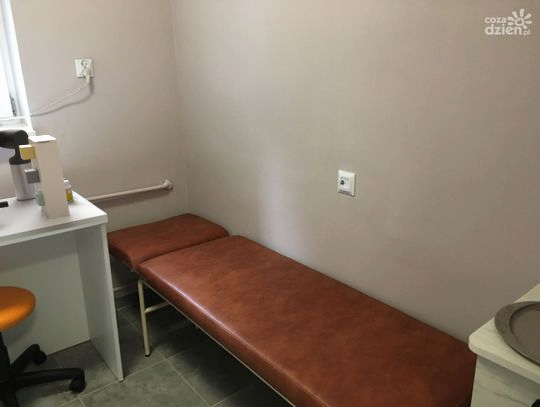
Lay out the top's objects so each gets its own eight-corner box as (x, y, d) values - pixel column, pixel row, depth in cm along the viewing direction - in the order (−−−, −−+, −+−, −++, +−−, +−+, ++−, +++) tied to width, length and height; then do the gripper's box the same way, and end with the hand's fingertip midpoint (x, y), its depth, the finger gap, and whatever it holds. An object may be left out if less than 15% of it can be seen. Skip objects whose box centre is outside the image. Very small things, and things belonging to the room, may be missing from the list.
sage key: (36, 203, 187) (34, 192, 186) (53, 200, 191) (51, 189, 189) (39, 206, 182) (36, 194, 181) (56, 203, 186) (53, 191, 185)
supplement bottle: (58, 202, 204) (54, 182, 201) (67, 199, 209) (64, 179, 206) (67, 203, 202) (63, 182, 199) (76, 200, 207) (72, 180, 204)
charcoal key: (25, 181, 183) (23, 169, 181) (42, 178, 186) (40, 167, 185) (28, 184, 178) (25, 172, 177) (45, 181, 182) (43, 169, 180)
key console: (41, 209, 194) (27, 137, 185) (60, 205, 199) (48, 135, 189) (49, 218, 180) (34, 141, 171) (69, 214, 185) (56, 139, 175)
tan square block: (21, 157, 180) (18, 145, 179) (38, 155, 184) (36, 143, 182) (23, 159, 175) (20, 147, 174) (41, 157, 179) (38, 145, 177)
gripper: (-46, 206, 162) (8, 198, 172) (-46, 199, 173) (4, 191, 182) (-41, 225, 164) (12, 216, 174) (-42, 217, 175) (8, 208, 184)
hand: (8, 203), depth 178 cm, fingers closed
